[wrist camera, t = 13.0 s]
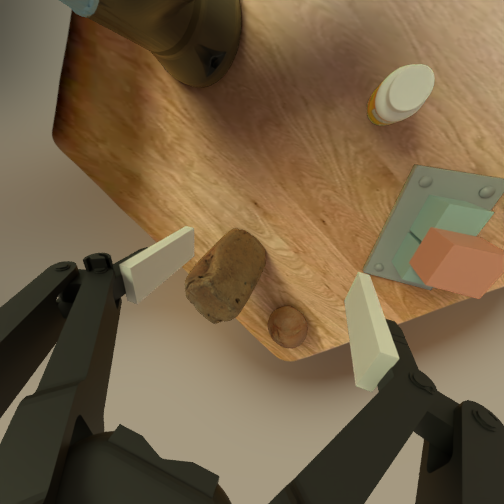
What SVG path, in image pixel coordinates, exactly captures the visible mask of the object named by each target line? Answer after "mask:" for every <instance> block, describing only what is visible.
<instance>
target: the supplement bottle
mask: <svg viewBox="0 0 504 504" xmlns="http://www.w3.org/2000/svg"><path fill="white" fill-rule="evenodd" d="M434 82H435V77H434V73H433V71H432V69H431V68H430V67H429V66H427V65H424V64H416V65H414V64H411V65H406V66H403V67H400V68H398V69H396V70H395V71H393V72H392V73H391V74H390V75H389V76H388V77H386V79H385V80H384V81H383V82H382V83H381V84H380V85H379V86H378V87H377V88H376V89H375V91H374V92H373V93H372V95H371V96H370V98H369V101H368V104H367V116H368V118H369V120H370V121H371V122H372V123H373V124H375V125H379V126H385V125H389V124H393V123H395V122H398V121H402V120H404V119H406V118H408V117H410V116H412V115H413V114H414V113H416V112H417V111H418V110H419V109H420V108H421V107H422V105H423V104H424V103H425V101H426V99H427V98H428V97H429V95H430V94H431V92H432V89H433V87H434Z"/></svg>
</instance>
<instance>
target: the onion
mask: <svg viewBox="0 0 504 504" xmlns="http://www.w3.org/2000/svg"><path fill="white" fill-rule="evenodd" d="M268 330H269V333H270V335H271V337H272V339H273V340H274V341H275V342H276V343H277V344H279V345H280V346H282V347H285V348H295V347H297V346H299V345H300V344H302V342H303V341H304V340H305V338H306V335H307V331H308V327H307V323H306V320H305V319H304V317H303V314H301V313H300V312H299V311H298V310H296V309H294V308H293V307H292V306H289V305H287V306H285V307H280V308H278V309H276V310H275V311H274V312H273V313H272V314H271V315H270V317H269V320H268Z"/></svg>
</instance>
